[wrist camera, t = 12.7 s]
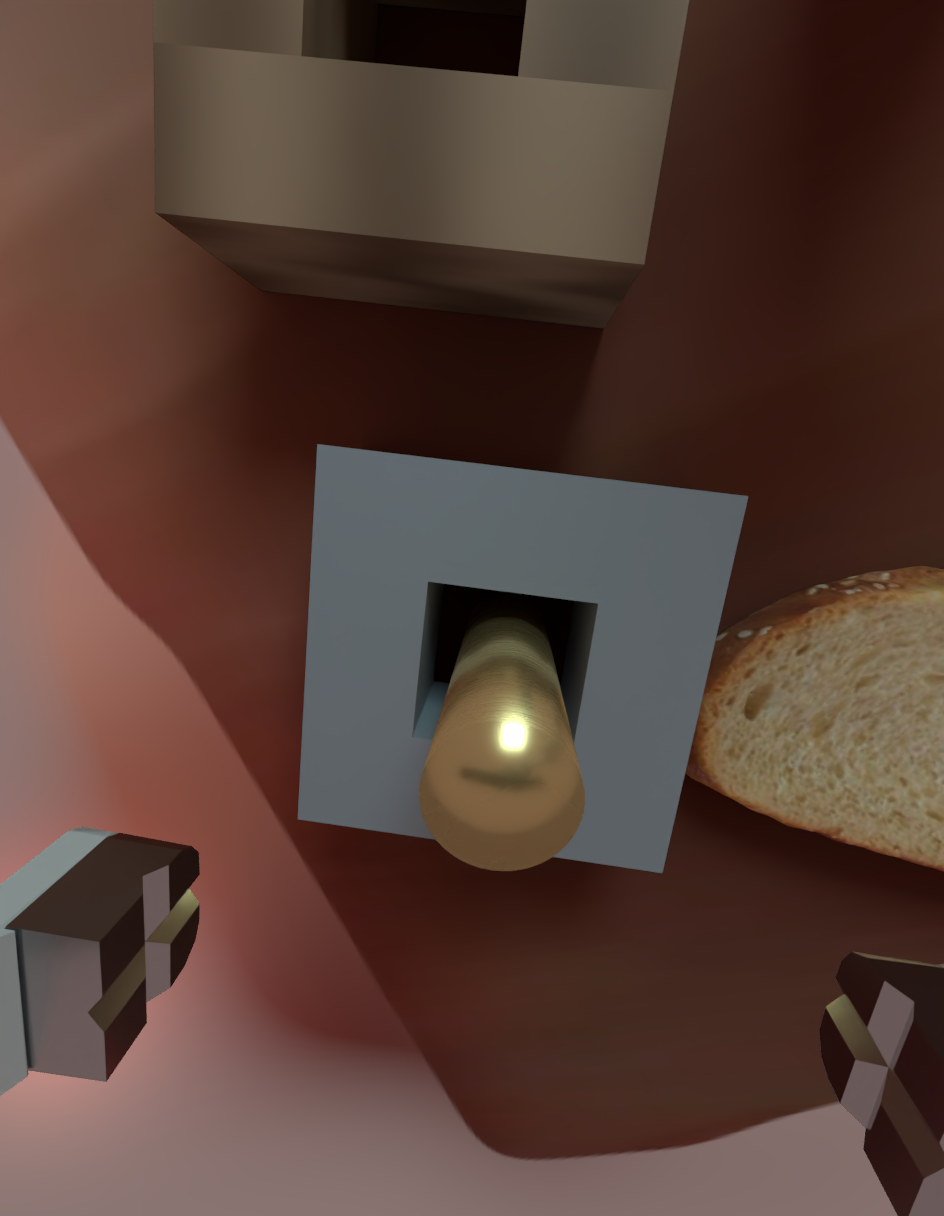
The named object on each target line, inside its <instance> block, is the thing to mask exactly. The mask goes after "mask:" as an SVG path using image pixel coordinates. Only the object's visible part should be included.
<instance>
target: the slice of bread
mask: <svg viewBox="0 0 944 1216" xmlns="http://www.w3.org/2000/svg"><path fill="white" fill-rule="evenodd" d="M685 773H686V774H687V775H688V776H689V777H691V778H692V779H694V780H696V781H698V782H701V783H702V784H704V785H706V786H708V787H710V788H712V789H714V790H716V791H718V792H720V793H721V794H723V795H725V796H727V797H729V798H731V799H733V800H735V801H737V802H738V803H740V804H742V805H744V806H745V807H747V808H749V809H751V810H753V811H755V812H758V813H761V814H764V815H767V816H769V817H772V818H773V819H775V820H777V821H779V822H780V823H782V824H785V825H787V826H790V827H794V828H799V829H804V830H808V831H811V832H817V833H819V834H821V835H823V836H825V837H827V838H830V839H832V840H835V841H838V842H842V843H846V844H849V845H855V846H859V847H863V848H866V849H869V850H871V851H874V852H877V853H880V854H885V855H889V856H893V857H897V858H900V859H903V860H906V861H909V862H912V863H916V864H919V865H922V866H926V867H931V868H934V869H936V870H939V871H943V872H944V570H943V569H938V568H934V567H928V566H913V567H906V568H901V569H895V570H886V571H874V572H869V573H865V574H861V575H857V576H853V577H849V578H845V579H842V580H838V581H834V582H830V583H826V584H821V585H816V586H813V587H809V588H807V589H804V590H801V591H798V592H795V593H793V594H790V595H788V596H786V597H784V598H782V599H780V600H778V601H776V602H774V603H772V604H770V605H768V606H766V607H764V608H762V609H760V610H758V611H756V612H754V613H752V614H751V615H749V616H748V617H746V618H745V619H743V620H741V621H739V622H737V623H736V624H734V625H733V626H731V627H729V628H728V629H726V630H725V631H723V632H722V633H721V634H720V635H718V636H717V637H716V640H715V645H714V649H713V653H712V658H711V662H710V667H709V671H708V675H707V680H706V684H705V688H704V693H703V697H702V702H701V706H700V710H699V715H698V719H697V724H696V728H695V732H694V737H693V741H692V745H691V750H690V754H689V759H688V763H687V767H686V772H685Z"/></svg>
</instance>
